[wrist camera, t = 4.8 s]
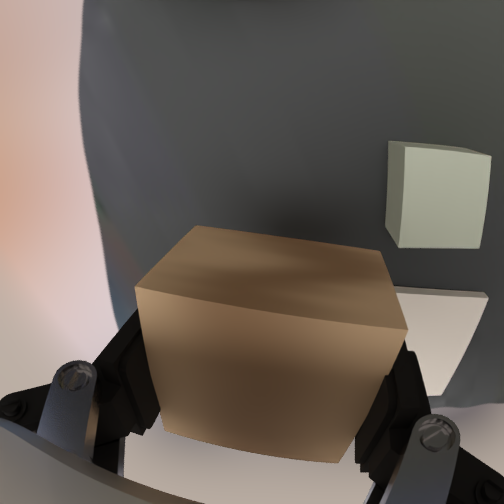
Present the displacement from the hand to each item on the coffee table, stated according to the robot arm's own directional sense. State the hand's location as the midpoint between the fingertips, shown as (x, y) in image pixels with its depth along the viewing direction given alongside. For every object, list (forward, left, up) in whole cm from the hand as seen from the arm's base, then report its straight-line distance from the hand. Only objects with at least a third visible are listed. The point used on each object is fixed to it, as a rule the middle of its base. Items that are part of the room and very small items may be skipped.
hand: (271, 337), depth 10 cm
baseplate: (-10, +11, -13) cm, 20 cm away
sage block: (-9, -3, -13) cm, 16 cm away
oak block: (0, 0, -1) cm, 1 cm away
